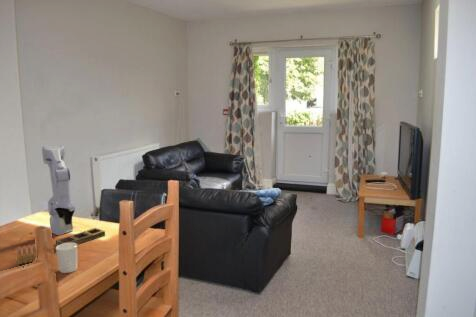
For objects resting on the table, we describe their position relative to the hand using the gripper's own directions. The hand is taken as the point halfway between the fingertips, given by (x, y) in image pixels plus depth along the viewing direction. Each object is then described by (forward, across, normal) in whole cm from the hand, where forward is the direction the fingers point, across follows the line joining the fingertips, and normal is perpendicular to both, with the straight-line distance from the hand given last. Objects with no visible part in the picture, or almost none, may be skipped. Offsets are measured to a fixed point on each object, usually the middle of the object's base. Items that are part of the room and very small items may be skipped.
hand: (66, 223), depth 189 cm
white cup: (+10, +26, -14) cm, 31 cm away
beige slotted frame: (+10, 0, +7) cm, 12 cm away
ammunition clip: (+10, +18, -24) cm, 32 cm away
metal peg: (+3, 0, 0) cm, 3 cm away
